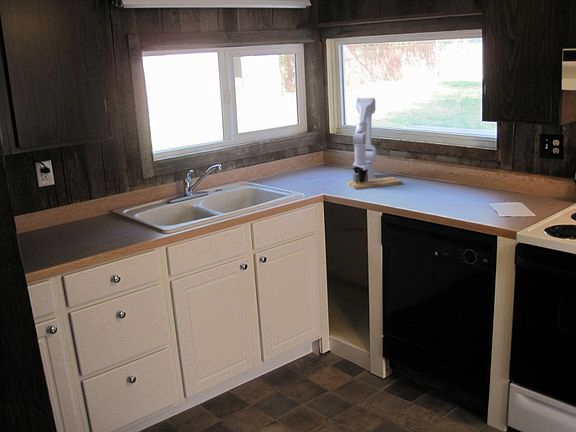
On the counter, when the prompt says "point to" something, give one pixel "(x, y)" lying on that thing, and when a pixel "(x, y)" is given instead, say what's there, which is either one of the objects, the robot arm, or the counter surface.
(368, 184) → the board
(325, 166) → the counter surface
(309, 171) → the counter surface
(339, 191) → the counter surface
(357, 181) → the block
